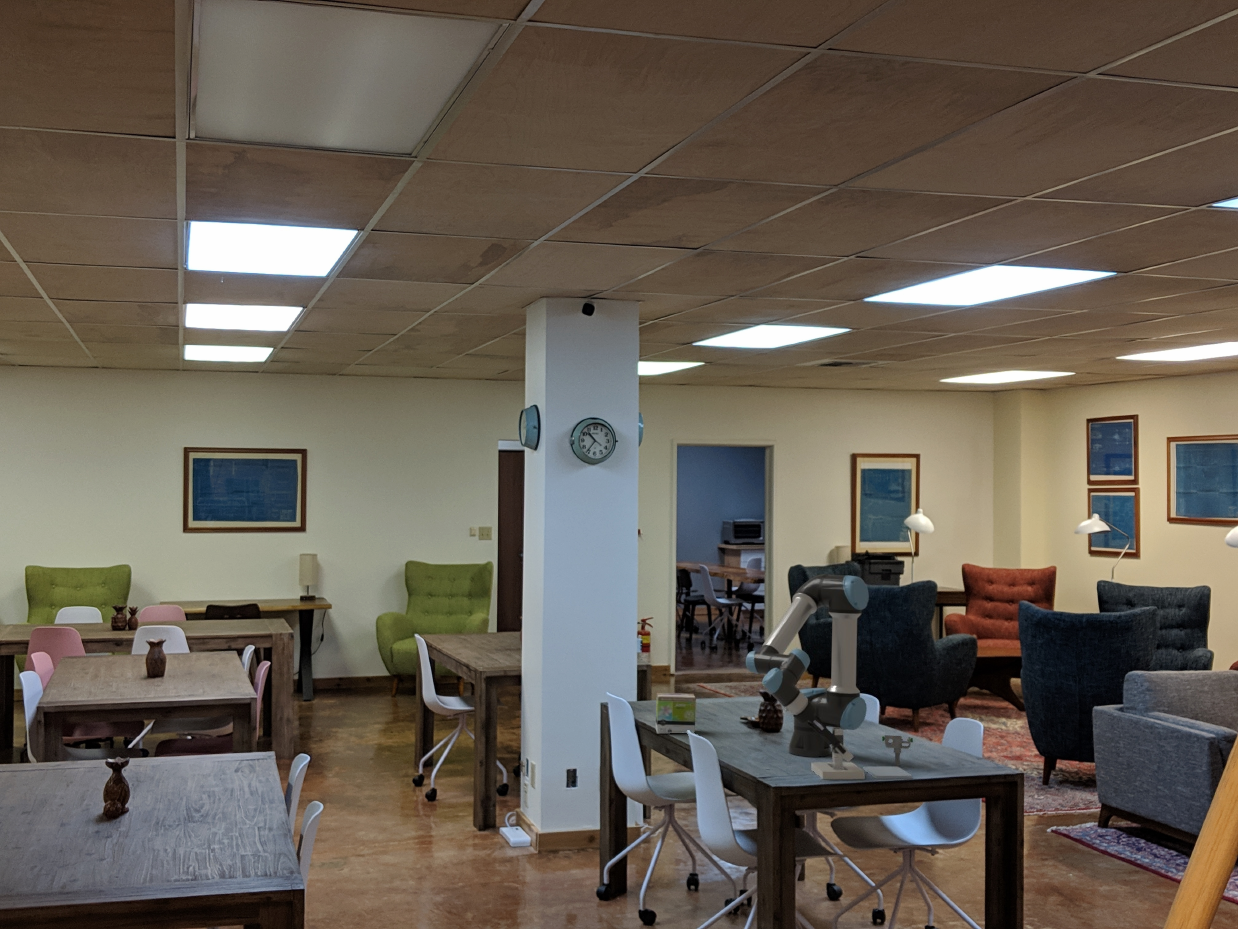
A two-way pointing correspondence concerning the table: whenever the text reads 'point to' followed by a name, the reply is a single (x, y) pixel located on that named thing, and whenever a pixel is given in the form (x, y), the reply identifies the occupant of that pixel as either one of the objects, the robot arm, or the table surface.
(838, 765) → the t key
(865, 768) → the pad
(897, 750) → the mechanical component
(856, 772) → the block
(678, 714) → the tea box
